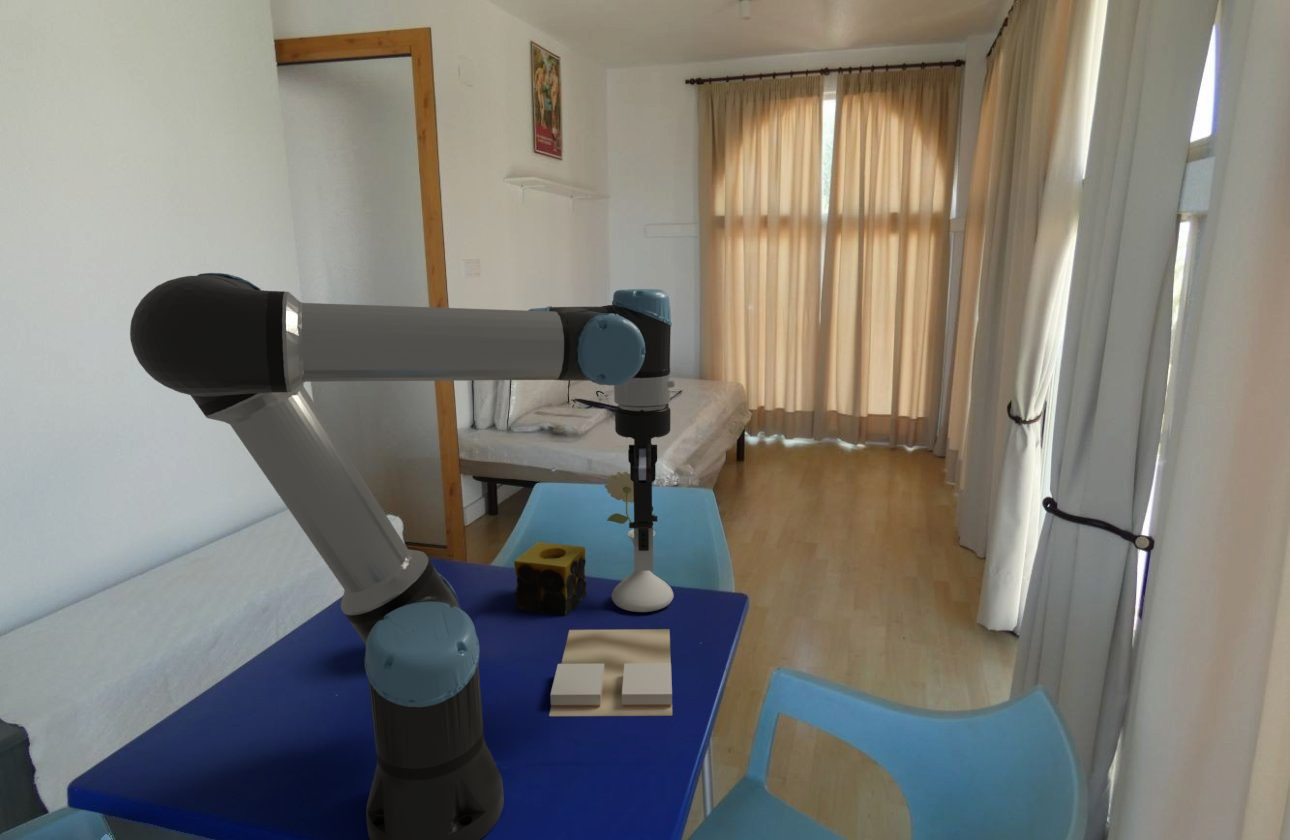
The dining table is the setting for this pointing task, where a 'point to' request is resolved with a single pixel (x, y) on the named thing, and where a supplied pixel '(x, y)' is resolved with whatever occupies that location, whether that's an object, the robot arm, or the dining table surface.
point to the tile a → (578, 685)
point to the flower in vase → (640, 586)
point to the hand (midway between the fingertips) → (643, 568)
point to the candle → (550, 578)
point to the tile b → (647, 685)
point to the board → (615, 665)
